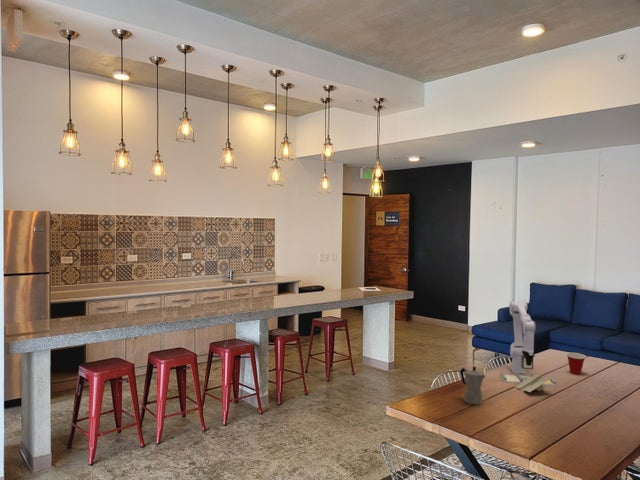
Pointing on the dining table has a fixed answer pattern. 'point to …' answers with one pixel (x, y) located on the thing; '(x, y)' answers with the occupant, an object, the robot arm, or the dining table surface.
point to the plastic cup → (575, 362)
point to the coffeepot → (472, 385)
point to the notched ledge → (523, 379)
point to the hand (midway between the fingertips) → (527, 364)
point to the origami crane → (533, 383)
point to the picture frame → (523, 363)
